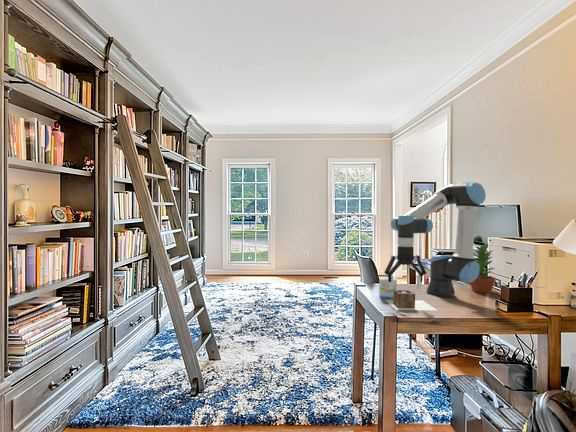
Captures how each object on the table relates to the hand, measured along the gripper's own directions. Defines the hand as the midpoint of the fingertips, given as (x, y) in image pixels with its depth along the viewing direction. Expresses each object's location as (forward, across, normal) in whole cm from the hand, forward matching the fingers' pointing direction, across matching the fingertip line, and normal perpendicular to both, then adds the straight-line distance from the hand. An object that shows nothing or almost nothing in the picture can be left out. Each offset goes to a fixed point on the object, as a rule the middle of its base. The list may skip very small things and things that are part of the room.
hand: (405, 288), depth 175 cm
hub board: (+10, -3, -2) cm, 11 cm away
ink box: (+10, +4, -16) cm, 20 cm away
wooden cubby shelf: (+9, +1, 0) cm, 9 cm away
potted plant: (+12, -61, -41) cm, 75 cm away
